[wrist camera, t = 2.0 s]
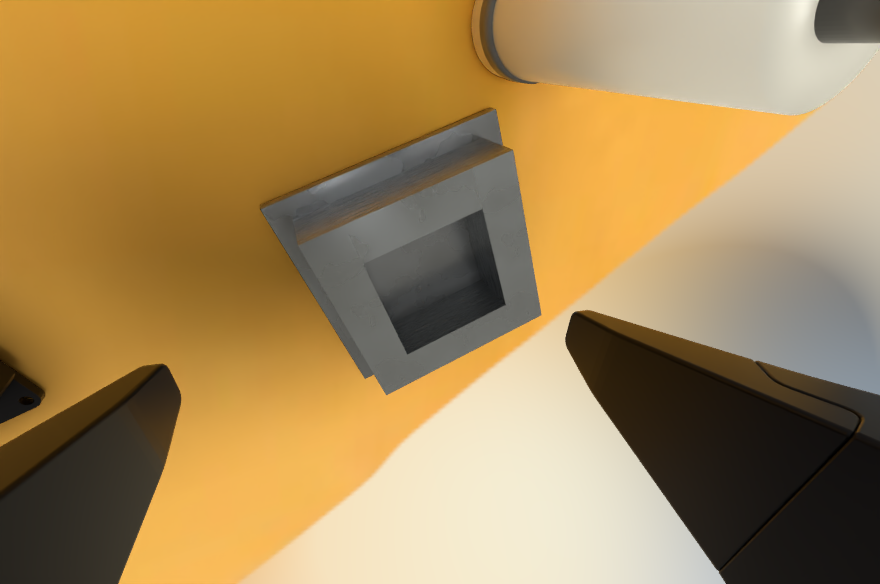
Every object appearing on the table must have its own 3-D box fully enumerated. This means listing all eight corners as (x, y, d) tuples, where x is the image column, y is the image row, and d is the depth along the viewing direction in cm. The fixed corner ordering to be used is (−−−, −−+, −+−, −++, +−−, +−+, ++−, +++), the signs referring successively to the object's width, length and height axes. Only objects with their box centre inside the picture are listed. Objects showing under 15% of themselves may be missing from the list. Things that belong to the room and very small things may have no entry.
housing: (363, 372, 25) (376, 414, 22) (260, 205, 18) (260, 234, 15) (525, 290, 27) (557, 319, 24) (490, 107, 20) (529, 118, 17)
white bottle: (481, 95, 19) (865, 179, 7) (458, -21, 17) (1013, -205, 4) (562, 61, 20) (1039, 86, 8) (552, -56, 17) (1265, -300, 5)
